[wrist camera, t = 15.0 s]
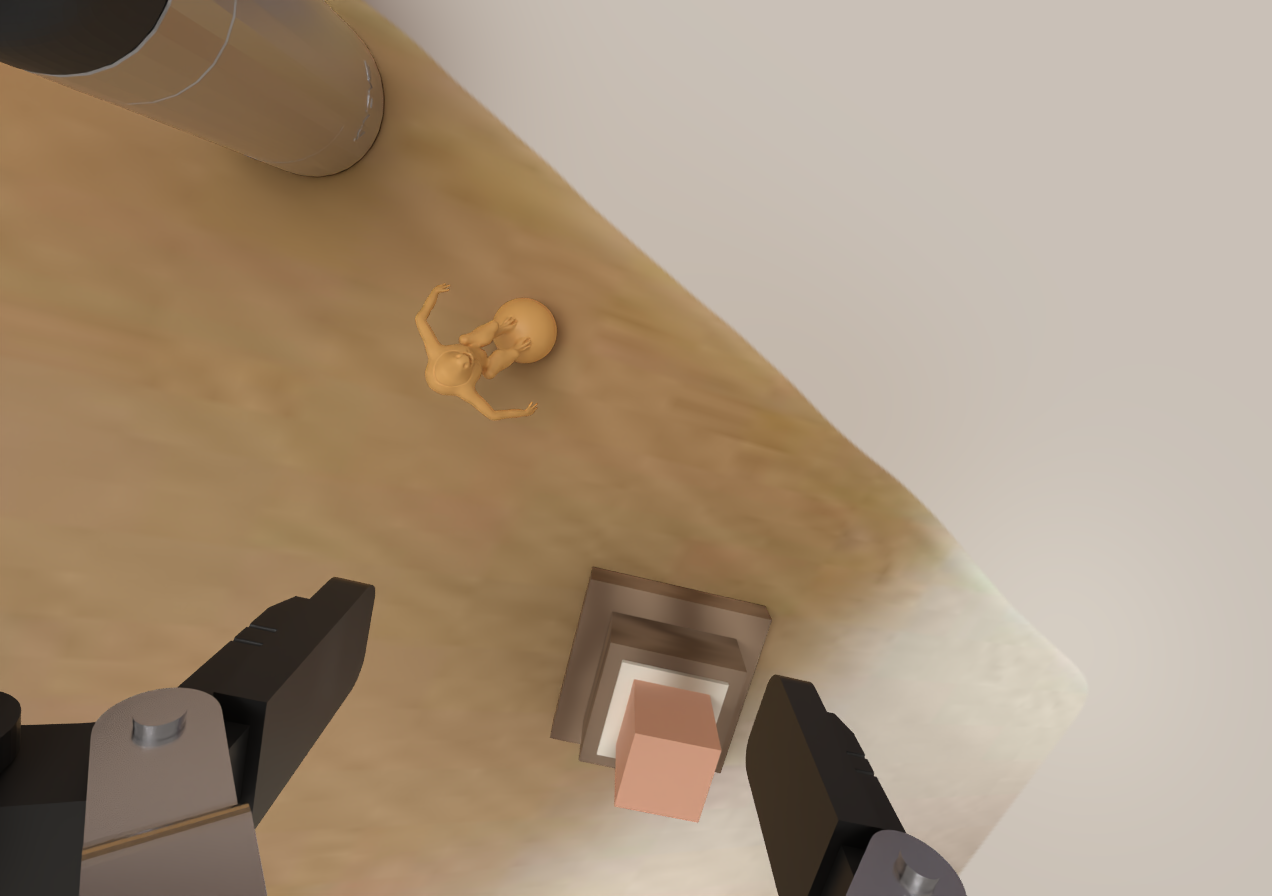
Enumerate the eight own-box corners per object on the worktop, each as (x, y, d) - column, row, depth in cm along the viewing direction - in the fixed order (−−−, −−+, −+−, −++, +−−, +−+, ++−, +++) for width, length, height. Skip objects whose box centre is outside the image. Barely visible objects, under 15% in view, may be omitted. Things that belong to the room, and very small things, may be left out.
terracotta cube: (615, 744, 40) (614, 806, 35) (634, 679, 39) (635, 733, 34) (689, 759, 40) (698, 822, 35) (709, 694, 39) (721, 750, 34)
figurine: (591, 364, 40) (576, 390, 29) (518, 415, 41) (475, 460, 29) (515, 256, 39) (466, 237, 27) (440, 311, 39) (362, 316, 28)
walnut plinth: (553, 719, 47) (542, 782, 41) (592, 566, 44) (586, 610, 38) (716, 753, 48) (729, 820, 41) (765, 606, 45) (787, 654, 39)
